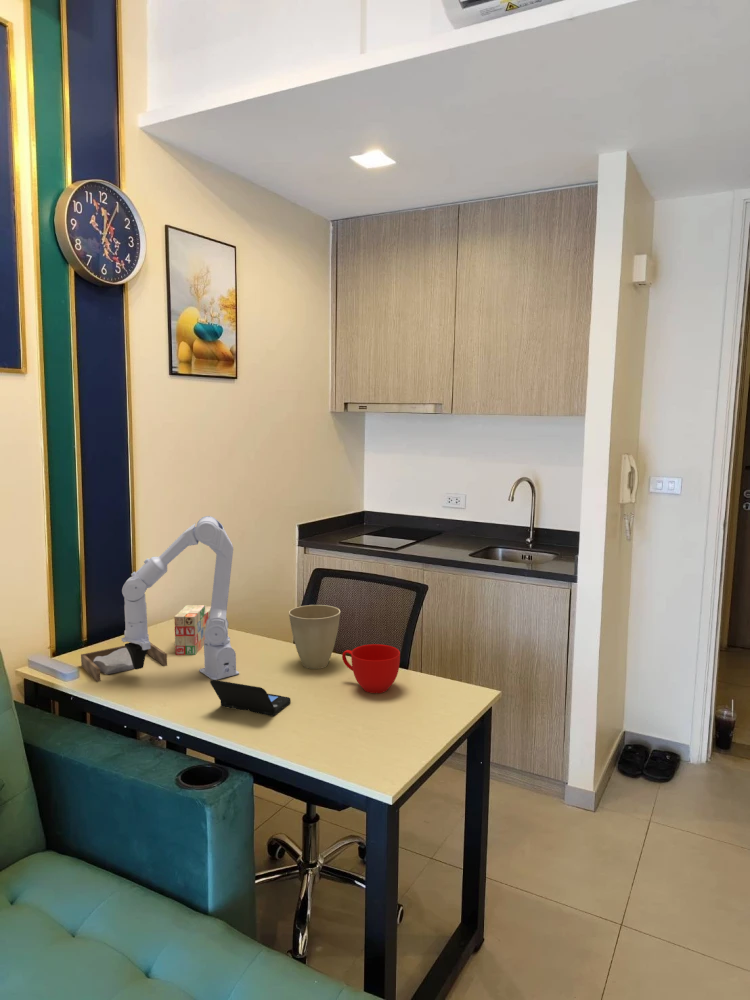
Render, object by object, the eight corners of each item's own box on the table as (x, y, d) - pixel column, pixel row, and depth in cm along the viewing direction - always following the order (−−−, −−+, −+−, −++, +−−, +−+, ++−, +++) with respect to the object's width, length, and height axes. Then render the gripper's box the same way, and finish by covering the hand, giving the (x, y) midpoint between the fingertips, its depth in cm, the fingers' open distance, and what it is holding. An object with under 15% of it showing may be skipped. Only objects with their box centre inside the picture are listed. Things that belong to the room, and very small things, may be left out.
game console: (292, 703, 174) (292, 668, 172) (264, 725, 161) (263, 688, 160) (240, 693, 179) (240, 660, 178) (209, 714, 167) (208, 678, 166)
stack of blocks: (195, 633, 229) (194, 597, 227) (213, 633, 229) (212, 597, 227) (175, 655, 208) (173, 615, 206) (195, 655, 208) (194, 616, 206)
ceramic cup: (355, 673, 193) (355, 638, 192) (408, 685, 185) (408, 649, 183) (329, 688, 182) (329, 652, 181) (384, 702, 174) (384, 664, 172)
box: (167, 665, 199) (166, 653, 198) (97, 681, 187) (96, 669, 186) (148, 651, 210) (147, 640, 210) (81, 666, 198) (80, 654, 198)
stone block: (146, 671, 200) (127, 657, 205) (147, 656, 198) (128, 642, 204) (109, 684, 191) (90, 669, 196) (110, 669, 189) (90, 655, 195)
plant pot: (351, 664, 200) (351, 611, 198) (312, 678, 190) (312, 622, 188) (317, 651, 210) (316, 601, 208) (279, 664, 200) (278, 611, 198)
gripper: (112, 617, 191) (115, 664, 192) (130, 629, 180) (133, 679, 181) (137, 612, 195) (140, 658, 197) (157, 624, 184) (159, 673, 186)
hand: (138, 668), depth 189 cm, fingers closed
